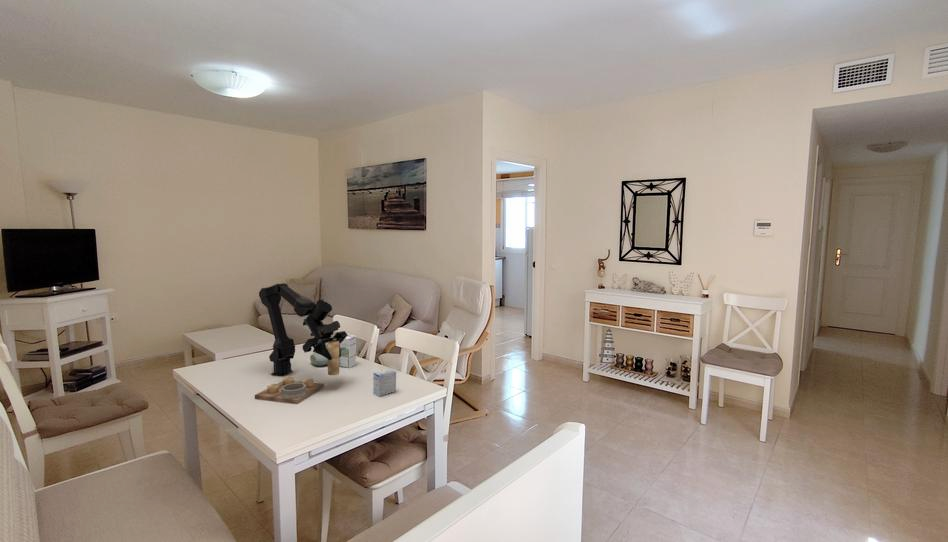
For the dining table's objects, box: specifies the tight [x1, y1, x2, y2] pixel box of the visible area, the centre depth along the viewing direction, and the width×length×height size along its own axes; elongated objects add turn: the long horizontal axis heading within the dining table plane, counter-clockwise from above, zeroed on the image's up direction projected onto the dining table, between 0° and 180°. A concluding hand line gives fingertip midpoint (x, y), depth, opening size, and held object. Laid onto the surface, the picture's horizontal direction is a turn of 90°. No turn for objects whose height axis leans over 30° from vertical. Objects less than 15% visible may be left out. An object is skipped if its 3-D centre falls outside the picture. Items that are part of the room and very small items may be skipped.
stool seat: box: [254, 375, 325, 405], centre depth 169 cm, size 18×18×4 cm
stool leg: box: [327, 341, 340, 376], centre depth 173 cm, size 4×4×13 cm
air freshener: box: [309, 343, 328, 367], centre depth 206 cm, size 11×8×10 cm
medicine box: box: [372, 368, 397, 397], centre depth 171 cm, size 8×4×9 cm, turn 135°
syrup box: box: [339, 334, 357, 369], centre depth 204 cm, size 6×6×14 cm
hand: (335, 358), depth 172 cm, fingers closed on stool leg, 4 cm apart
